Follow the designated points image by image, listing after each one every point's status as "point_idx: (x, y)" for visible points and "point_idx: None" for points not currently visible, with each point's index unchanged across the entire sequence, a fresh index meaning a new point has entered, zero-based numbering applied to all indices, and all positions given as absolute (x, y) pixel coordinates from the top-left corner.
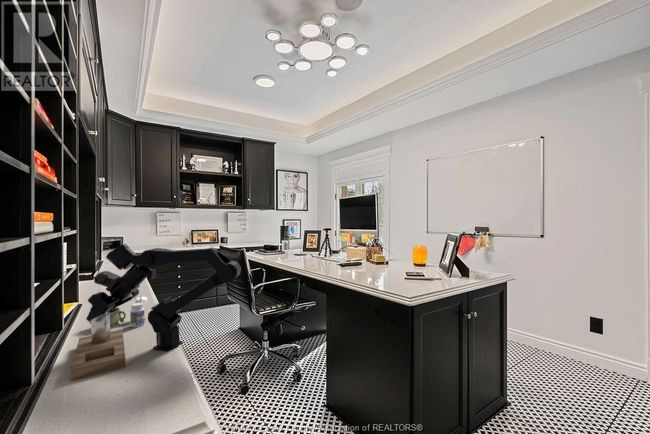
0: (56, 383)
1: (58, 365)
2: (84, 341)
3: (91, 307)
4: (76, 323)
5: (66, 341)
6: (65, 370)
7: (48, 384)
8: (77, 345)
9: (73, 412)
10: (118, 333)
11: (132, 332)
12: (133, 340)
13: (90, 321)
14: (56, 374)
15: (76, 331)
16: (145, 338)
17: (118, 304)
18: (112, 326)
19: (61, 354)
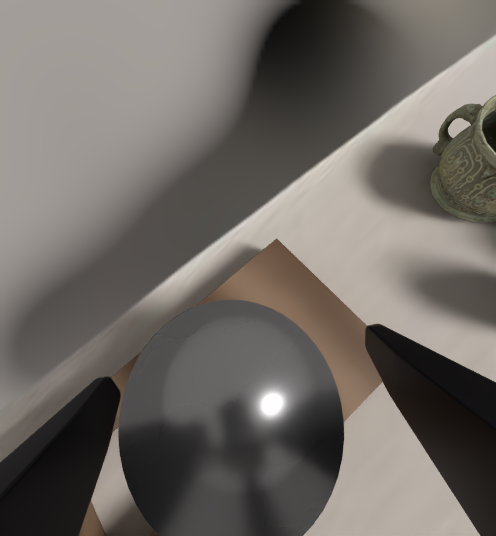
0: (24, 418)
1: (145, 308)
2: (245, 291)
3: (202, 307)
4: (452, 70)
5: (312, 171)
6: (108, 366)
7: (25, 395)
8: (206, 297)
9: None
10: (350, 382)
11: (451, 354)
12: (369, 440)
13: (445, 127)
14: (85, 360)
15: (392, 128)
16: (406, 497)
17: (484, 524)
18: (470, 214)
19: (220, 244)
